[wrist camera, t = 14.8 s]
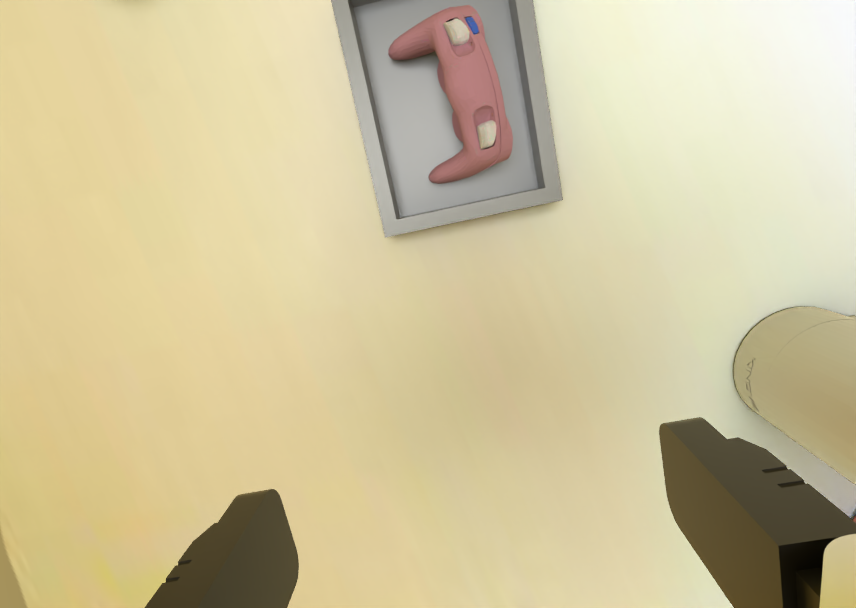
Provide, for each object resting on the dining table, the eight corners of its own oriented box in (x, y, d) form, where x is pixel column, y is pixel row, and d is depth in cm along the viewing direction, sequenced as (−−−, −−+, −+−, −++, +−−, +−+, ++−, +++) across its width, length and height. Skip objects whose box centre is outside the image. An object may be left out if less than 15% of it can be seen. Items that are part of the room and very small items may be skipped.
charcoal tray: (514, -45, 33) (521, -72, 29) (552, 199, 36) (562, 199, 33) (338, 0, 34) (326, -21, 31) (391, 233, 37) (385, 237, 34)
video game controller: (481, 173, 37) (538, 152, 30) (427, 191, 35) (474, 173, 29) (439, 33, 35) (490, -21, 28) (379, 46, 33) (419, -9, 27)
